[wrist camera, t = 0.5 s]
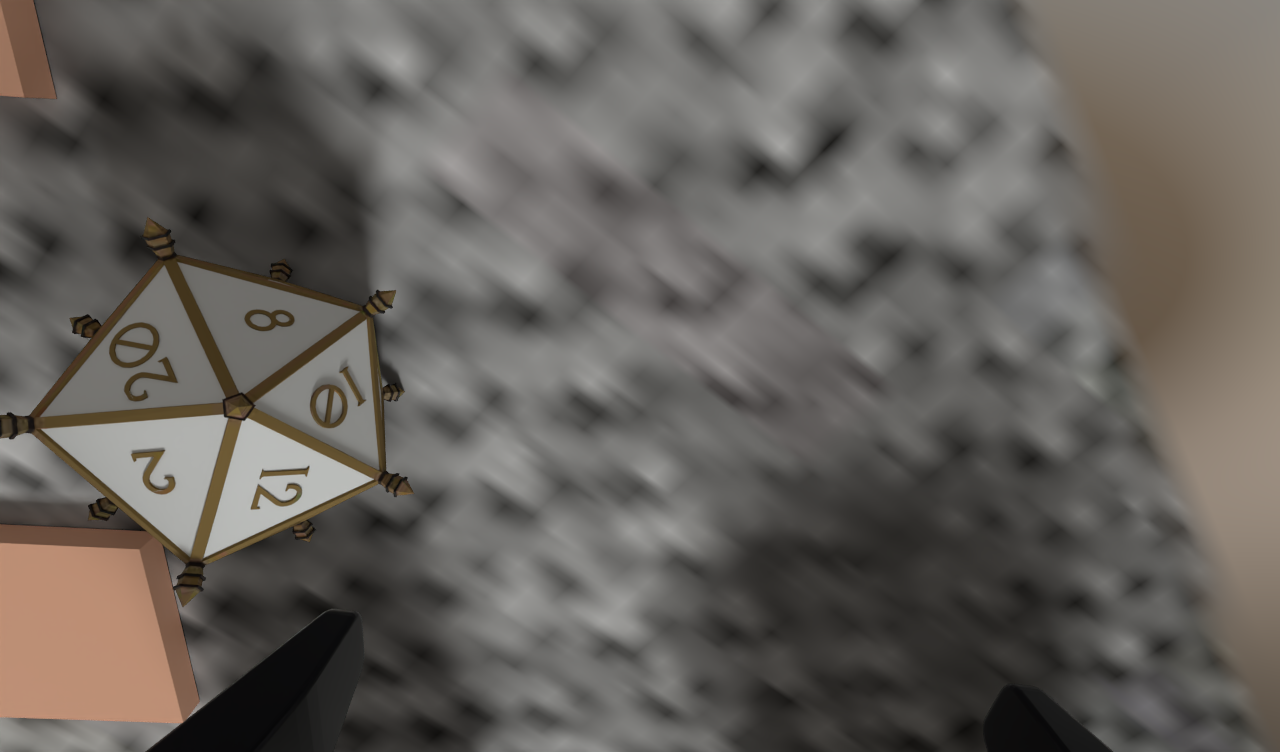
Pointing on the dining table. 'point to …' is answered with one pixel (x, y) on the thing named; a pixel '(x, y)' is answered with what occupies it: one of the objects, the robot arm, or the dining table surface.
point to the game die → (220, 407)
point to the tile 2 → (90, 627)
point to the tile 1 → (23, 52)
